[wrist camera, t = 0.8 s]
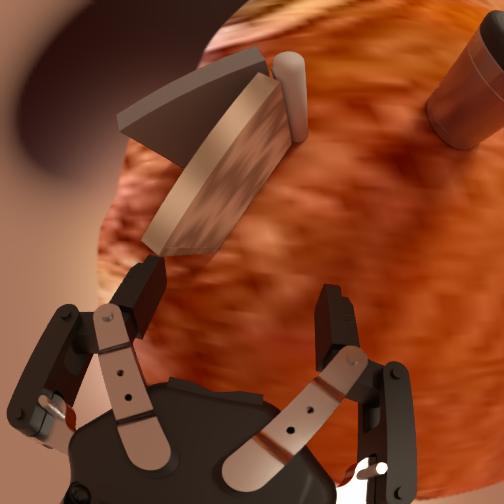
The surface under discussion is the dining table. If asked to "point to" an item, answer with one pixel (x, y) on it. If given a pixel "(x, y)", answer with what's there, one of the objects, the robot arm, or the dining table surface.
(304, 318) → the dining table surface
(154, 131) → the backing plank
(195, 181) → the ash plank
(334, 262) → the dining table surface
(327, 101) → the dining table surface
